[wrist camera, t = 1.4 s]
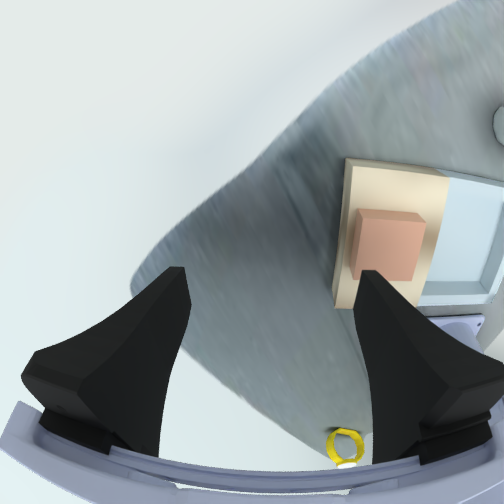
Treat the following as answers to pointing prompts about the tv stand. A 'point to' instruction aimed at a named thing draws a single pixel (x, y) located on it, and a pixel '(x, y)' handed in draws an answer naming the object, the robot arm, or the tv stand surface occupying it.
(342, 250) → the beige wooden block
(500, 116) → the milkshake
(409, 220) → the tile
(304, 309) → the tv stand surface
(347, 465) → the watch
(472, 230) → the box
